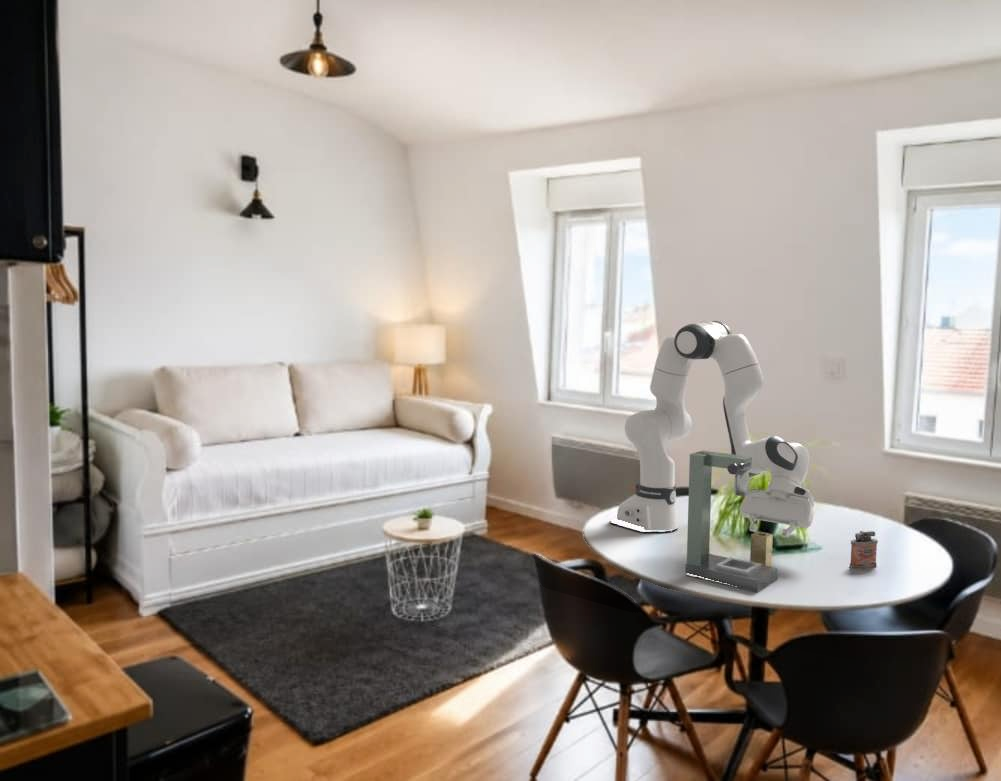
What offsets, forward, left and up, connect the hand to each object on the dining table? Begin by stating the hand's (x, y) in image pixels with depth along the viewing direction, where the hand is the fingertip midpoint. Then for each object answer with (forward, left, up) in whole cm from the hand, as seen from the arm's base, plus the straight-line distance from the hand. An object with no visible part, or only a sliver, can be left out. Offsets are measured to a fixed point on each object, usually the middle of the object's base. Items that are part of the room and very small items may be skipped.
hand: (768, 533), depth 228 cm
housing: (0, -4, -8) cm, 9 cm away
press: (-2, -22, -8) cm, 23 cm away
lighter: (+22, +14, -9) cm, 27 cm away
